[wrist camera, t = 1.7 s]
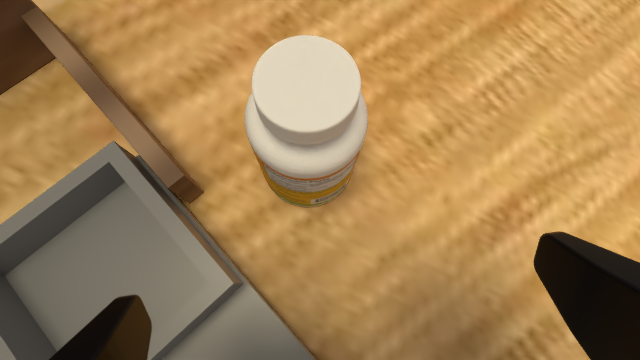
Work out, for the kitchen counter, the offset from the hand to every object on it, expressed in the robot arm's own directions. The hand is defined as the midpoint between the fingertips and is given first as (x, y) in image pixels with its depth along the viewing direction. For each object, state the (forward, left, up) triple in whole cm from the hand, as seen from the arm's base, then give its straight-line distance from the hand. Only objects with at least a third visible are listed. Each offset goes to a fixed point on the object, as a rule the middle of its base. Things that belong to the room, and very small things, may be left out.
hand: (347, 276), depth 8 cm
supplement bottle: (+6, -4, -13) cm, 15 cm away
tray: (+4, +8, -13) cm, 16 cm away
